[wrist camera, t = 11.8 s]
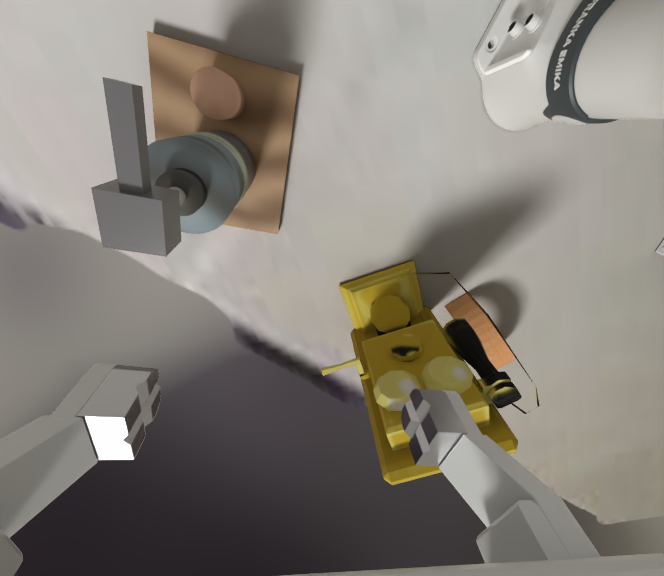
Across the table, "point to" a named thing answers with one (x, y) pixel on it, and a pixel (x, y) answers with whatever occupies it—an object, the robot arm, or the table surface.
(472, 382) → the vintage telephone
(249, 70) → the stand
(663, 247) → the ink cartridge box
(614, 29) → the robot arm
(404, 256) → the table surface
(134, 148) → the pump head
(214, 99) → the pink egg shape
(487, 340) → the arch
